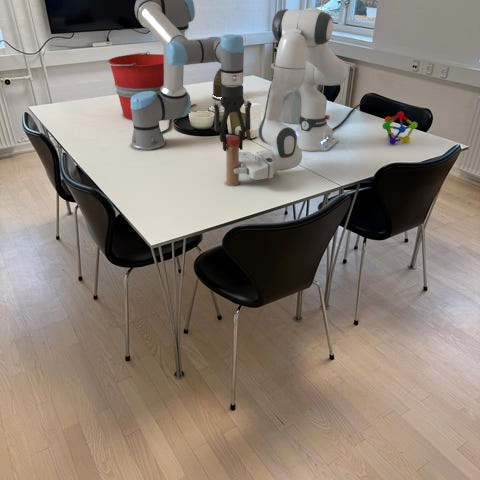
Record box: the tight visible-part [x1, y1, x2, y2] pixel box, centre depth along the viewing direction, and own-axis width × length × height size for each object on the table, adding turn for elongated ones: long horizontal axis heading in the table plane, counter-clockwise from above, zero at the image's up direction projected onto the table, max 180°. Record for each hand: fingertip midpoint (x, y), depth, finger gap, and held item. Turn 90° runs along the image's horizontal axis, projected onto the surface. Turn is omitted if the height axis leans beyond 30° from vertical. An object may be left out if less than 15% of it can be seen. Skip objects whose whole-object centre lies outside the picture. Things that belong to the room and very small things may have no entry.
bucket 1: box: [105, 51, 164, 121], centre depth 241 cm, size 35×35×30 cm
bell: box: [212, 68, 223, 97], centre depth 278 cm, size 19×26×20 cm
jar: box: [225, 144, 240, 187], centre depth 167 cm, size 5×5×17 cm
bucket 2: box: [270, 62, 325, 125], centre depth 235 cm, size 30×30×28 cm
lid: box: [226, 134, 240, 145], centre depth 162 cm, size 6×6×2 cm
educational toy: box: [382, 110, 418, 145], centre depth 207 cm, size 16×13×15 cm
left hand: (232, 149), depth 164 cm, fingers closed on lid, 5 cm apart
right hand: (230, 168), depth 167 cm, fingers closed on jar, 5 cm apart
